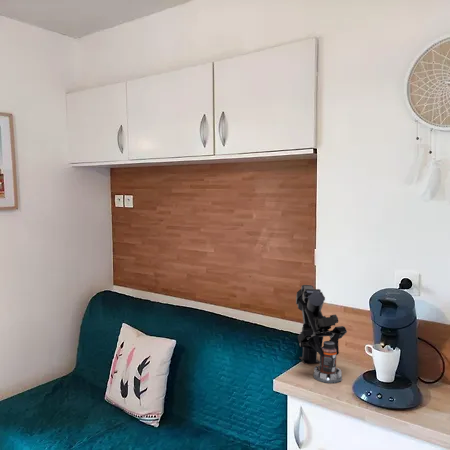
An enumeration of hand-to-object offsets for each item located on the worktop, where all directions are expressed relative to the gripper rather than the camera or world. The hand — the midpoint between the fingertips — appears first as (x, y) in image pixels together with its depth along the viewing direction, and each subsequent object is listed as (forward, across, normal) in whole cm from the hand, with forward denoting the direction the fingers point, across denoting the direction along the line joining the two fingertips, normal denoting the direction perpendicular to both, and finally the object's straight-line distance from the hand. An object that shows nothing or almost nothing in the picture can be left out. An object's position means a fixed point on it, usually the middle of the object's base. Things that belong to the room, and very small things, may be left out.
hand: (330, 355), depth 167 cm
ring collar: (+6, 0, +7) cm, 9 cm away
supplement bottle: (+4, 0, +6) cm, 7 cm away
